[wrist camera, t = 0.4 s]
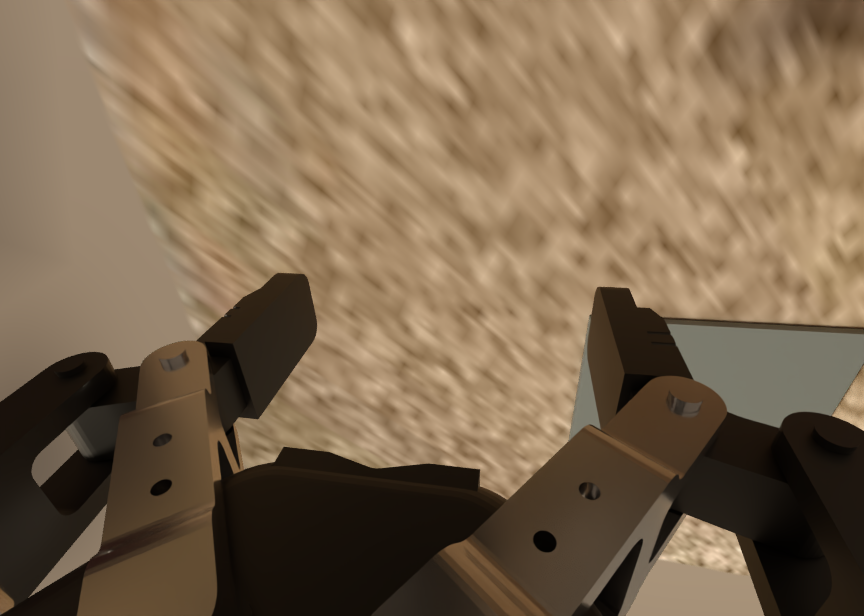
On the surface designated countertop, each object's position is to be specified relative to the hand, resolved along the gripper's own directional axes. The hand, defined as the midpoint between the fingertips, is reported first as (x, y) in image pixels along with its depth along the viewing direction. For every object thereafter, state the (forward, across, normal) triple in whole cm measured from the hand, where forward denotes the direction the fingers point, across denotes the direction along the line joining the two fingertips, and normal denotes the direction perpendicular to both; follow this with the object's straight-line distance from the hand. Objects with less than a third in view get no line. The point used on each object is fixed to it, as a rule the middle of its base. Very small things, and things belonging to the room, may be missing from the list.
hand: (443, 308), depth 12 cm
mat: (+19, -16, +21) cm, 33 cm away
